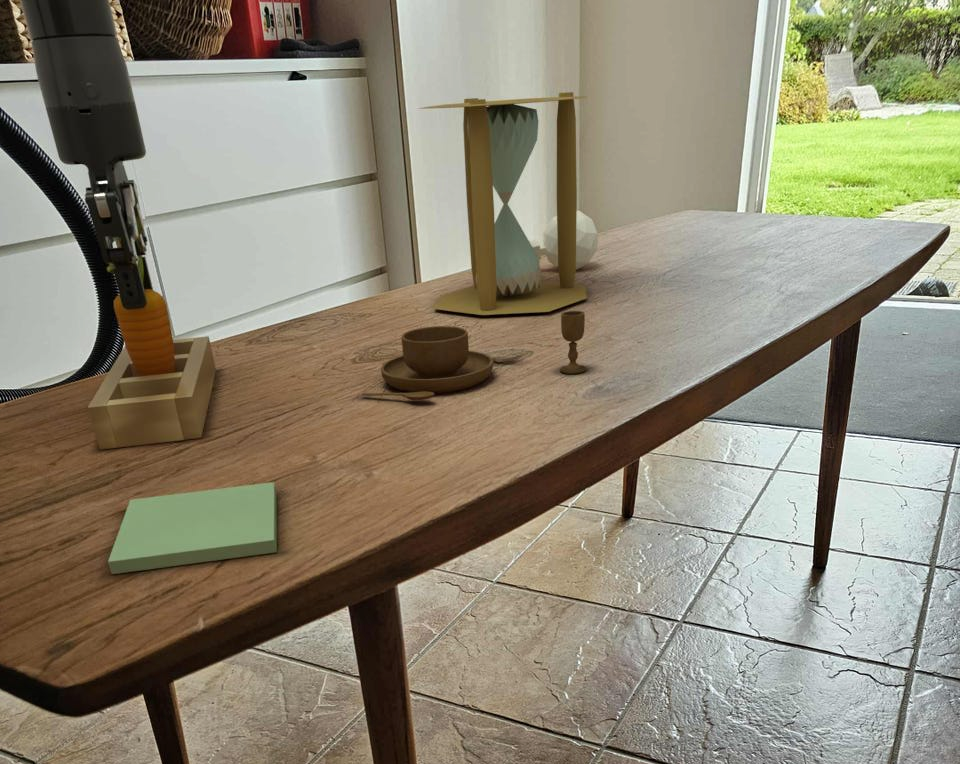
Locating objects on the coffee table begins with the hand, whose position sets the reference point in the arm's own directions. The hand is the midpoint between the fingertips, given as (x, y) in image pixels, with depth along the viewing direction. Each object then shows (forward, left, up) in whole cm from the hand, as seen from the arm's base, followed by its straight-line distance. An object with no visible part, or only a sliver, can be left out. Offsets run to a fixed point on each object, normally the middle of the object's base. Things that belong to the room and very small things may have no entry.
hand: (139, 301), depth 88 cm
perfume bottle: (+58, +55, -11) cm, 81 cm away
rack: (0, 0, -10) cm, 10 cm away
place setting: (+32, -4, -11) cm, 34 cm away
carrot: (0, 0, -11) cm, 11 cm away
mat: (+6, -34, -10) cm, 36 cm away
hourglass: (+45, +35, -11) cm, 58 cm away
